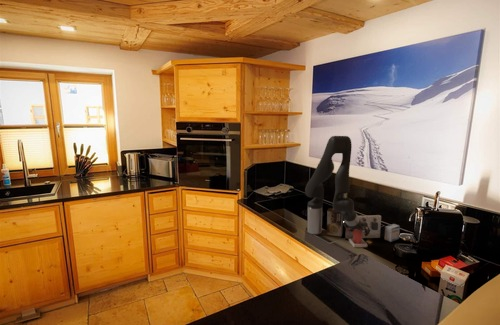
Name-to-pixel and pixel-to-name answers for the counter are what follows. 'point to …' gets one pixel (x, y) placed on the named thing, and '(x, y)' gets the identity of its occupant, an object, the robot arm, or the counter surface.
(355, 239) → the cap
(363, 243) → the lockout socket
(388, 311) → the counter surface
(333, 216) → the coffee box
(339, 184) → the robot arm
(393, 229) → the medicine box
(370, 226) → the breaker panel
